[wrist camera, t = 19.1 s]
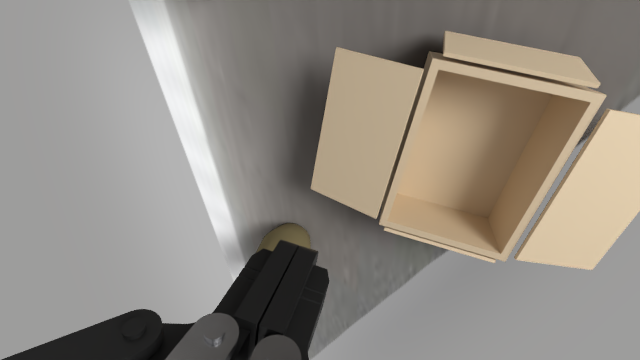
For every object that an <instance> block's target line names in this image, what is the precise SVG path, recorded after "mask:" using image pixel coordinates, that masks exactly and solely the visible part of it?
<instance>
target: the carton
mask: <svg viewBox="0 0 640 360" xmlns="http://www.w3.org/2000/svg"><path fill="white" fill-rule="evenodd" d="M582 85H583V86H582ZM585 86H588V87H593V88H598V87H599V86H600V82H599V81H598V80H597V79H596V77H595V76H594V75H593V74H592V72H591V71H590V70H589V68H588V67H587V66H586V65H585V63H584V62H583V61H582V59H581V58H580V57H576V56H571V55H566V54H561V53H556V52H550V51H545V50H540V49H535V48H530V47H525V46H520V45H515V44H510V43H505V42H500V41H495V40H490V39H485V38H479V37H474V36H469V35H464V34H459V33H454V32H449V31H445V33H444V41H443V54H442V53H437V52H432V51H429V53H428V56H427V59H426V62H425V66H424V71H423V74H422V78H421V81H420V84H419V87H418V90H417V93H416V96H415V100H414V103H413V106H412V109H411V112H410V115H409V119H408V122H407V125H406V128H405V131H404V134H403V138H402V141H401V144H400V147H399V150H398V153H397V156H396V160H395V163H394V166H393V169H392V172H391V175H390V179H389V182H388V185H387V188H386V191H385V194H384V198H383V203H382V209H381V215H380V221H379V225H382V226H384V231H388V232H391V233H394V234H398V235H401V236H404V237H408V238H411V239H414V240H418V241H421V242H425V243H428V244H431V245H435V246H438V247H441V248H445V249H448V250H452V251H455V252H458V253H462V254H465V255H468V256H472V257H475V258H478V259H482V260H485V261H489V262H492V263H495V262H496V260H495V259H498V260H501V261H506V260H507V258H508V256H509V255H510V253H511V251H512V250H513V248H514V247H515V245H516V243H517V242H518V240H519V238H520V237H521V235H522V233H523V232H524V230H525V229H526V227H527V225H528V224H529V222H530V220H531V219H532V217H533V215H534V214H535V212H536V210H537V209H538V207H539V206H540V204H541V202H542V200H543V199H544V197H545V196H546V194H547V193H548V191H549V189H550V188H551V186H552V184H553V183H554V181H555V179H556V177H557V176H558V175H559V173H560V171H561V170H562V168H563V166H564V165H565V163H566V161H567V160H568V158H569V156H570V154H571V153H572V152H573V150H574V148H575V147H576V145H577V143H578V142H579V140H580V138H581V137H582V135H583V134H584V132H585V130H586V129H587V127H588V125H589V124H590V122H591V120H592V119H593V117H594V116H595V114H596V112H597V111H598V109H599V107H600V106H601V104H602V102H603V101H604V99H605V97H606V96H607V95H605V94H603V93H600V92H598V91H595V90H592V89H590V88H587V87H585Z"/></svg>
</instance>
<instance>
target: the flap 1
mask: <svg viewBox="0 0 640 360" xmlns="http://www.w3.org/2000/svg"><path fill="white" fill-rule="evenodd" d="M423 71H424V69H422V68H418V67H414V66H410V65H406V64H402V63H398V62H394V61H390V60H386V59H382V58H378V57H374V56H370V55H366V54H362V53H358V52H354V51H350V50H347V49H343V48H339V47H336V51H335V57H334V62H333V68H332V73H331V79H330V84H329V90H328V96H327V101H326V107H325V112H324V118H323V123H322V129H321V134H320V140H319V145H318V151H317V156H316V162H315V167H314V173H313V178H312V184H311V189H312V190H314V191H316V192H318V193H321V194H323V195H325V196H327V197H329V198H331V199H334V200H336V201H338V202H340V203H342V204H345V205H347V206H349V207H351V208H353V209H355V210H358V211H360V212H362V213H364V214H366V215H368V216H371V217H373V218H375V219H376V218H377V216H378V213H379V210H380V207H381V204H382V201H383V197H384V194H385V191H386V188H387V185H388V182H389V179H390V175H391V172H392V169H393V166H394V163H395V160H396V156H397V153H398V150H399V147H400V144H401V141H402V138H403V134H404V131H405V128H406V125H407V122H408V119H409V115H410V112H411V109H412V106H413V103H414V100H415V96H416V93H417V90H418V87H419V84H420V81H421V78H422V74H423Z"/></svg>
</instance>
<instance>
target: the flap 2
mask: <svg viewBox="0 0 640 360" xmlns="http://www.w3.org/2000/svg"><path fill="white" fill-rule="evenodd" d="M639 211H640V115H639V114H633V113H628V112H623V111H617V110H611V109H606V110H605V112H604V114H603V115H602V117H601V118H600V120H599V122H598V123H597V125H596V126H595V128H594V130H593V131H592V133H591V134H590V136H589V138H588V139H587V141H586V143H585V144H584V146H583V147H582V149H581V151H580V152H579V154H578V155H577V157H576V159H575V160H574V162H573V163H572V165H571V167H570V168H569V170H568V172H567V173H566V175H565V176H564V178H563V180H562V181H561V183H560V184H559V186H558V187H557V189H556V191H555V192H554V194H553V196H552V197H551V199H550V200H549V202H548V204H547V205H546V207H545V209H544V210H543V212H542V213H541V215H540V216H539V218H538V220H537V221H536V223H535V225H534V226H533V228H532V229H531V231H530V232H529V234H528V236H527V238H526V239H525V241H524V242H523V244H522V245H521V247H520V249H519V250H518V252H517V253H516V255H515V257H514V258H515V259H516V260H520V261H528V262H535V263H543V264H550V265H558V266H565V267H573V268H580V269H588V270H592V269H593V268H594V267H595V266H596V265H597V263H598V262H599V261H600V260H601V258H602V257H603V256H604V254H605V253H606V252H607V251H608V250H609V248H610V247H611V246H612V245H613V243H614V242H615V241H616V240H617V238H618V237H619V236H620V235H621V233H622V232H623V231H624V230H625V228H626V227H627V226H628V225H629V223H630V222H631V221H632V220H633V218H634V217H635V216H636V215H637V213H638V212H639Z"/></svg>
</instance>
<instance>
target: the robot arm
mask: <svg viewBox="0 0 640 360" xmlns="http://www.w3.org/2000/svg"><path fill="white" fill-rule="evenodd" d="M317 257H318V251H316V250H313V249H310V248H307V247H303V246H299V245H297V244H294V243H291V242H288V241H285V240H282V239H281V240H280V241H279V242H278V244H277V245H276V247H275V249H274V250H273V251H270V250H267V249H264V248H263V249H261V250H260V251H258V252H257V253H255V254H254V255H252V256H251V258H250V259H249V261H248V262H247V264H246V265H245V268H243V270H242V271H241V273H240V274H239V276H238V277H237V278H236V280H235V281H234V283H233V284H232V286H231V287H230V289H229V290H228V292H227V293H226V295H225V296H224V297H223V299H222V301H221V302H220V303H219V305H218V306H217V308H216V309H215V310H214V312H213V313H212V314H208V315H206V316H204V317H202V318H200V319H199V320H198V321H197V322H195V323H191V324H166V323H165V324H164V323H162V321H161V318H160V316H159V315H157V313H155V312H153V311H151V310H146V309H139V310H134V311H130V312H128V313H125V314H122V315H120V316H117V317H115V318H112V319H109V320H106V321H104V322H101V323H98V324H95V325H93V326H90V327H87V328H85V329H82V330H79V331H77V332H74V333H71V334H69V335H66V336H63V337H61V338H58V339H55V340H53V341H50V342H48V343H45V344H42V345H39V346H37V347H34V348H31V349H29V350H26V351H23V352H21V353H18V354H15V355H13V356H10V357H7V358H5V359H2V360H309V358H308V350H309V347H310V344H311V341H312V338H313V335H314V332H315V329H316V326H317V322H318V319H319V316H320V313H321V310H322V307H323V303H324V299H325V296H326V292H327V288H328V284H329V277H328V271H327V269H325V268H322V267H319V266H316V262H317Z"/></svg>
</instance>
